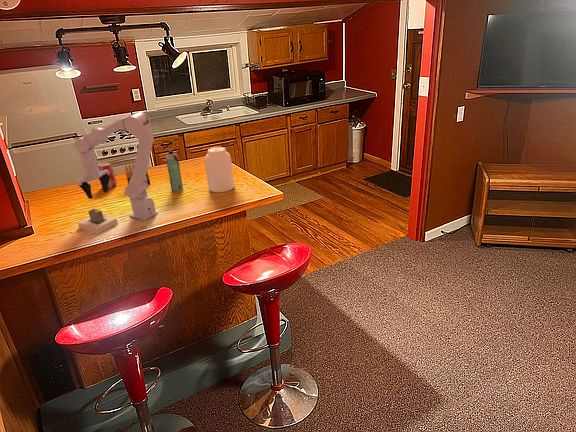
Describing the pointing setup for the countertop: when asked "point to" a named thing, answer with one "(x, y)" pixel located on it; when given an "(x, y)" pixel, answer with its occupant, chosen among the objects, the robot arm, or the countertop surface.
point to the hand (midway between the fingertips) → (98, 195)
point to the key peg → (96, 216)
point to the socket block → (97, 228)
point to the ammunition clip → (132, 173)
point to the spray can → (174, 171)
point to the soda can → (112, 176)
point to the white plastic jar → (219, 170)
